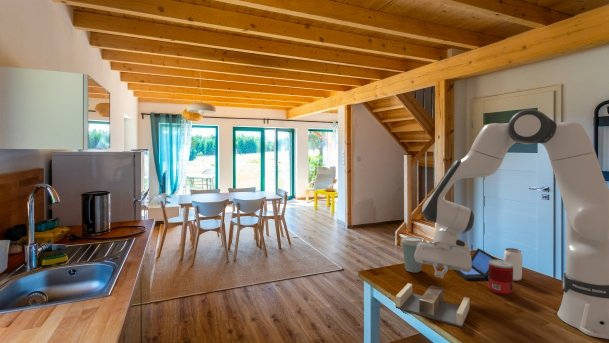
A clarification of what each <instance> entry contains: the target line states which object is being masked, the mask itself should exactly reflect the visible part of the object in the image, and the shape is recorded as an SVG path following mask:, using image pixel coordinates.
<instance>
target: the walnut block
mask: <svg viewBox="0 0 609 343" xmlns="http://www.w3.org/2000/svg"><path fill="white" fill-rule="evenodd" d="M421 296H422V297H421V299H419V312H423V313H426V314H429V315H434V313H435V311H436V310H437V308H438V307H439V305H440V304H441V302H442V301H443V300H444V288H443V287H439V286H436V285H431V284H430V286H429V287H428V288H427V289H426V291H425V292H424V293H423V294H422V295H421Z"/></svg>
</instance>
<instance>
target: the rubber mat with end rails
mask: <svg viewBox="0 0 609 343" xmlns="http://www.w3.org/2000/svg"><path fill="white" fill-rule="evenodd" d="M422 296H423V295H421V294H416V293H413V283H409V282H408V283H406V285H405V286H404V287H403V288H401V290H400V291H398V293H397V294H396V295H395V309H399V310H402V311H404V312H409V313H412V314H415V315H419V316H421V317H426V318H429V319H432V320H435V321H439V322H442V323H445V324H447V325H452V326H455V327H459V328H463V325H464V323H465V321H466V319H467V317H468V314H469V312H470V299H471V298H470V297H466V296H464V297H463V299H462V301H461V303H460V305H457V304H454V303H450V302H447V301H443V300H442V302H441V304H440V305H439V307H438V308H437V310H436V311H435V313H434V315H429V314H426V313H423V312H419V299H421V297H422Z"/></svg>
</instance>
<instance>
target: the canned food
mask: <svg viewBox="0 0 609 343" xmlns="http://www.w3.org/2000/svg"><path fill="white" fill-rule="evenodd" d="M487 281H488V283H487V287H488V289H489V291H490V292H493V293H495V294H498V295H503V296H508V295H511V294H512V293H513V289H514V288H513V286H514V280H513V264H512V263H510V262H507V261H504V259H503V260H502V259H497V260H490V261H489V275H488V280H487Z"/></svg>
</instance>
